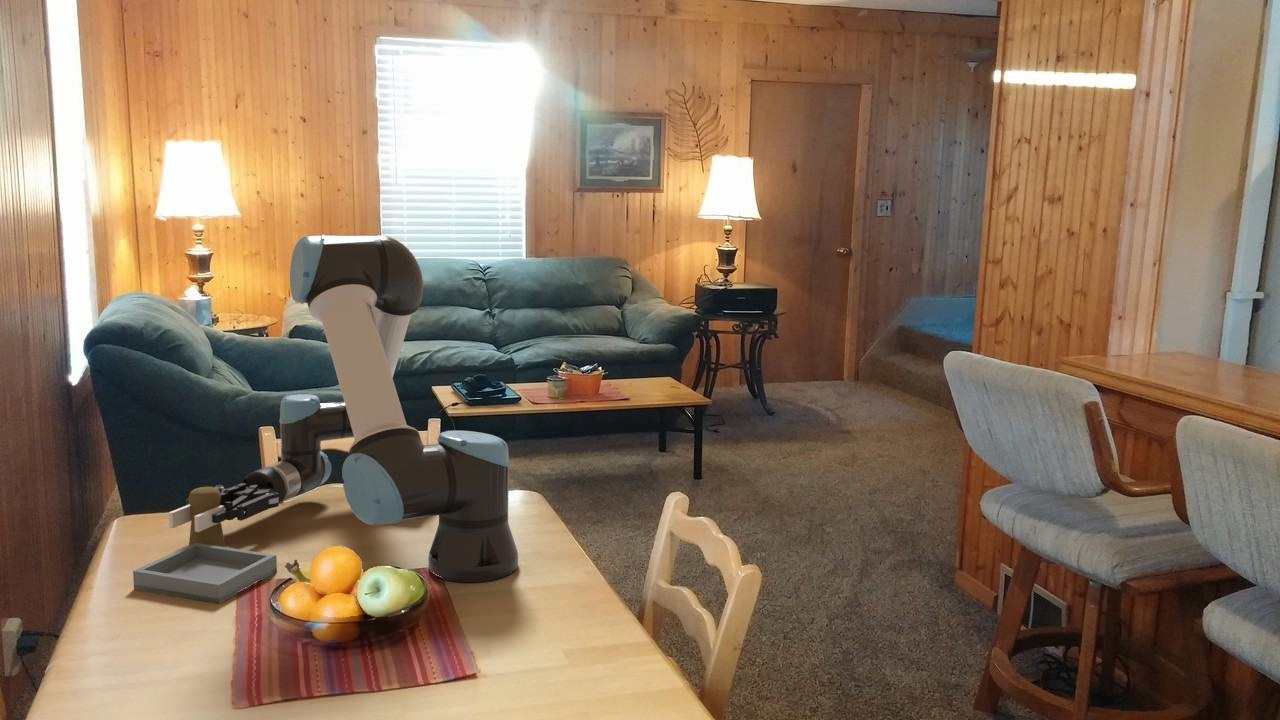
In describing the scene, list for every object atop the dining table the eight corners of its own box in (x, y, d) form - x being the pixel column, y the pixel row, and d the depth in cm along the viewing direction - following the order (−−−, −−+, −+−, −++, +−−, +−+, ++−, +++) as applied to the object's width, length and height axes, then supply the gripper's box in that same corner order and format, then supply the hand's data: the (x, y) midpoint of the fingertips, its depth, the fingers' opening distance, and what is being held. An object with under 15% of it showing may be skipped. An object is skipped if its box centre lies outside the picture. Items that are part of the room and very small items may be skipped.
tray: (276, 572, 168) (276, 554, 168) (219, 603, 155) (218, 584, 154) (196, 559, 172) (195, 542, 172) (133, 589, 159) (133, 571, 159)
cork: (231, 544, 180) (229, 484, 179) (214, 555, 174) (212, 494, 173) (199, 542, 181) (197, 482, 179) (181, 553, 175) (178, 492, 173)
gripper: (310, 510, 192) (228, 549, 170) (232, 499, 197) (142, 537, 175) (310, 471, 191) (226, 506, 169) (231, 462, 196) (140, 495, 173)
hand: (183, 522), depth 172 cm, fingers open, 4 cm apart
